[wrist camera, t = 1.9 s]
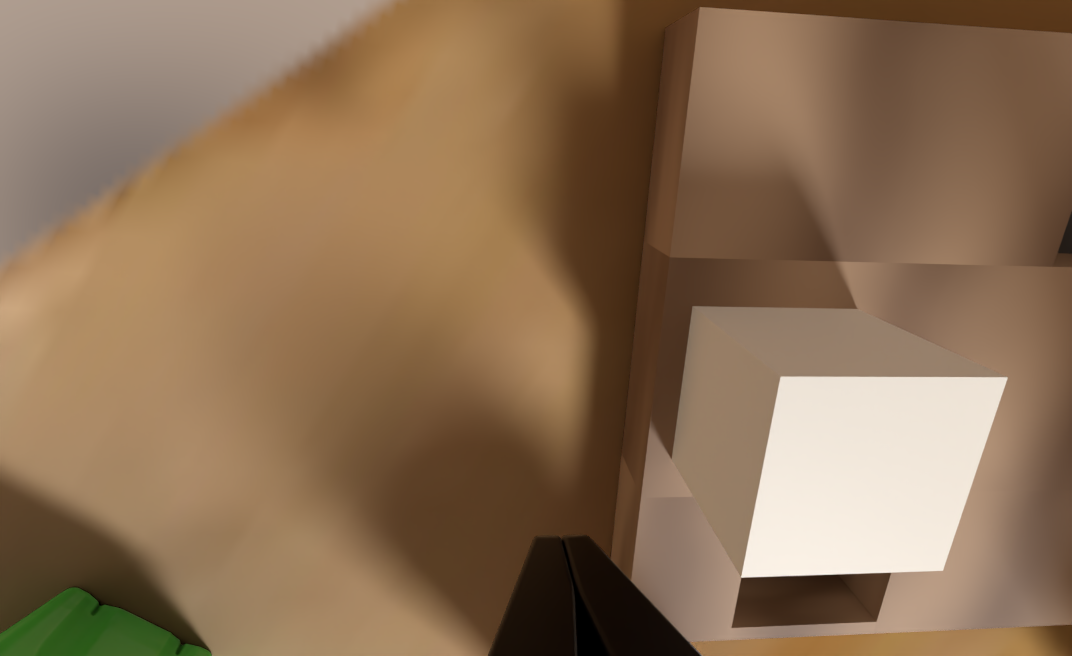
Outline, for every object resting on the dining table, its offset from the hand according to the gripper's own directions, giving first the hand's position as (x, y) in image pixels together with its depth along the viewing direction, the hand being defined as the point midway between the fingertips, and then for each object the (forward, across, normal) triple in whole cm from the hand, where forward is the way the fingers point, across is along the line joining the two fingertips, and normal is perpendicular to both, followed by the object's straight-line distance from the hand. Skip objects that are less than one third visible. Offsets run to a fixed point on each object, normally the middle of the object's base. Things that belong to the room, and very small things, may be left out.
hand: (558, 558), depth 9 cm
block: (+6, -6, 0) cm, 9 cm away
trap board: (+9, -13, 0) cm, 16 cm away
